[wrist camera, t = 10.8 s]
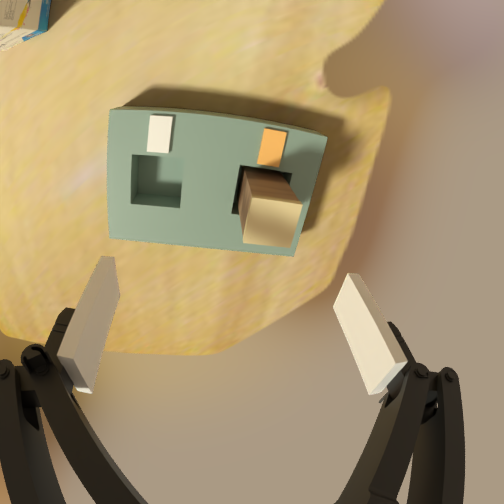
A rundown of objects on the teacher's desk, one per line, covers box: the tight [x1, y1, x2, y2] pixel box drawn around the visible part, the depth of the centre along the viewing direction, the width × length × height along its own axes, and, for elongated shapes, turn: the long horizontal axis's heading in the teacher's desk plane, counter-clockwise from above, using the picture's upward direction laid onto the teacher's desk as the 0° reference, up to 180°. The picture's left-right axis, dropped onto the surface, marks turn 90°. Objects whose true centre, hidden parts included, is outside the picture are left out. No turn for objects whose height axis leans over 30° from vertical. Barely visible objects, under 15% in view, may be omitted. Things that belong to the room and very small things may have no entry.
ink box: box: [0, 0, 51, 51], centre depth 12 cm, size 9×8×12 cm
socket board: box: [107, 106, 328, 257], centre depth 33 cm, size 16×24×5 cm, turn 79°
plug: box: [237, 165, 303, 248], centre depth 31 cm, size 5×5×11 cm
